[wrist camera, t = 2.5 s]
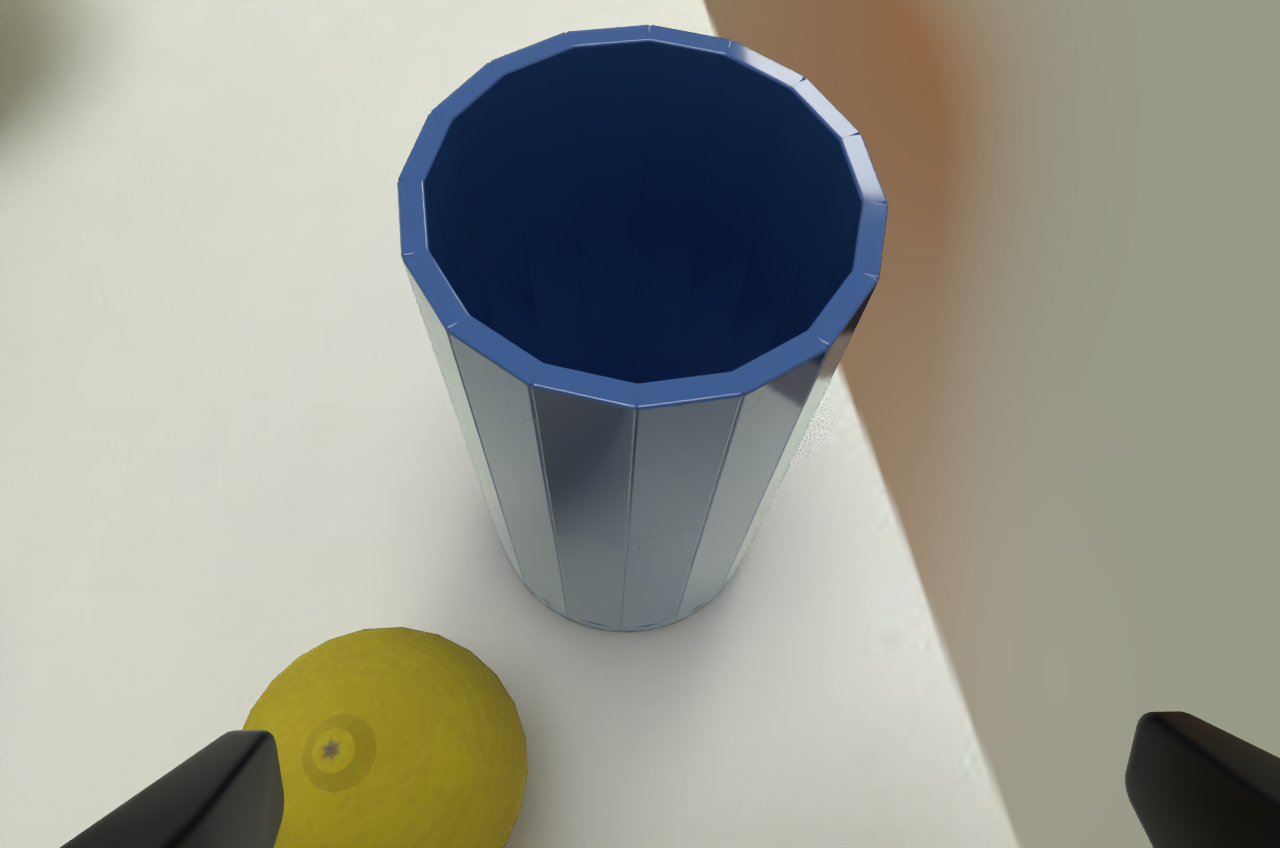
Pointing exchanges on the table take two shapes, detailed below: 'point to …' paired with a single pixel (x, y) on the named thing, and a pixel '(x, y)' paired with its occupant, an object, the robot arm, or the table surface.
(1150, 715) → the robot arm
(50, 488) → the table surface
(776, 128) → the blue cup
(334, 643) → the lemon
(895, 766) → the table surface
